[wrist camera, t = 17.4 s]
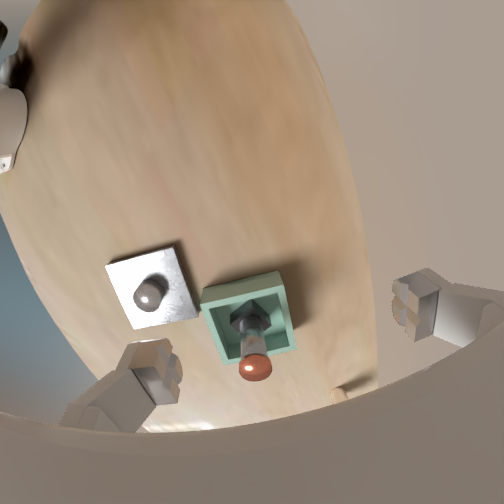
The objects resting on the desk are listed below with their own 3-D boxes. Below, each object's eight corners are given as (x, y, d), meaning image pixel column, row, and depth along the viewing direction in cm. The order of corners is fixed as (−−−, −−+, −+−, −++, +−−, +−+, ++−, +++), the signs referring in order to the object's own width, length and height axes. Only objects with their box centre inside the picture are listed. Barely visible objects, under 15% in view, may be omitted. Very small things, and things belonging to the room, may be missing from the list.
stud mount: (136, 324, 44) (129, 337, 40) (109, 262, 40) (98, 272, 36) (199, 312, 44) (196, 325, 40) (174, 244, 40) (169, 253, 36)
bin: (224, 346, 47) (224, 365, 42) (203, 288, 43) (199, 304, 38) (291, 331, 46) (296, 349, 42) (278, 270, 42) (283, 284, 38)
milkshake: (321, 399, 53) (332, 433, 44) (333, 383, 52) (347, 418, 43) (336, 401, 54) (349, 433, 45) (349, 386, 53) (364, 418, 43)
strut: (248, 330, 44) (253, 387, 32) (230, 314, 43) (229, 369, 31) (269, 315, 44) (281, 370, 31) (251, 297, 42) (257, 351, 30)
